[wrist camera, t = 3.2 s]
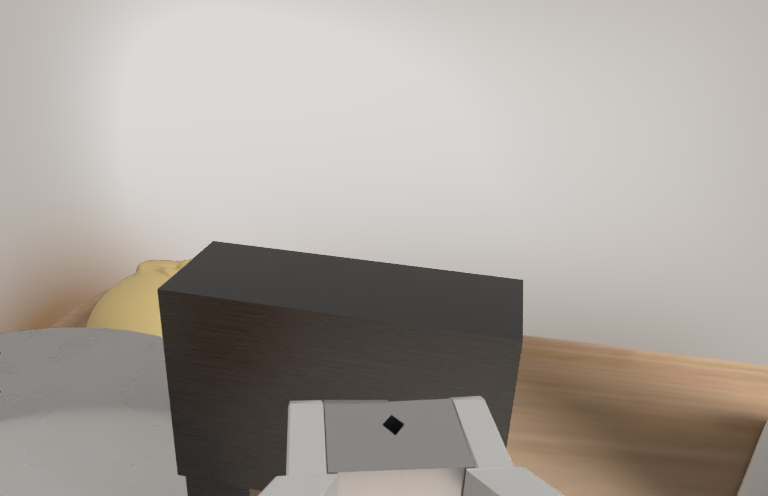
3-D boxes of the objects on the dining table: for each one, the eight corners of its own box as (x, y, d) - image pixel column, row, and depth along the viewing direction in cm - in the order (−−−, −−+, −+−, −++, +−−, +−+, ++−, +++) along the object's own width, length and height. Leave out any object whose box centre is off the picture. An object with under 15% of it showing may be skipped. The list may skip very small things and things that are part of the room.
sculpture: (288, 390, 50) (286, 266, 46) (152, 473, 42) (134, 329, 37) (198, 337, 57) (188, 223, 52) (64, 400, 48) (39, 270, 44)
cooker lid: (-708, 736, 16) (-1097, 365, 11) (-41, 323, 34) (-92, 122, 30) (438, 1138, 11) (518, 769, 7) (493, 408, 30) (523, 185, 25)
